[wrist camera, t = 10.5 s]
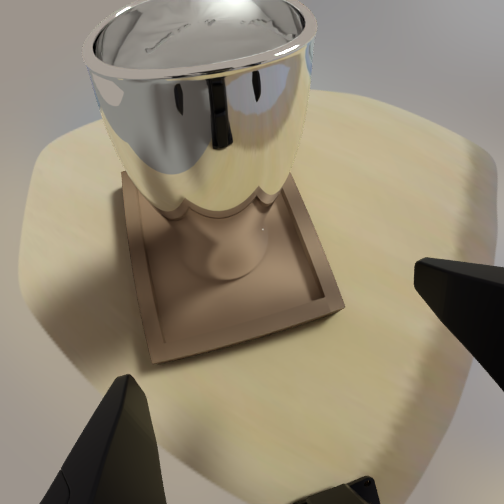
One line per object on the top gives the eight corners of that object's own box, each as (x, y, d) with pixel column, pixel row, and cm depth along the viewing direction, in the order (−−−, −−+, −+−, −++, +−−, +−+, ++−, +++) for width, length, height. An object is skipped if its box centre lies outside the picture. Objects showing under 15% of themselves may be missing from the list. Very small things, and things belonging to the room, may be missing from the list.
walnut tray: (337, 312, 19) (345, 307, 18) (159, 363, 18) (152, 363, 16) (271, 147, 24) (272, 134, 23) (127, 183, 23) (121, 172, 21)
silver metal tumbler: (191, 305, 18) (72, 129, 5) (158, 213, 21) (77, 17, 7) (293, 263, 20) (379, 54, 6) (249, 180, 22) (258, -26, 8)
